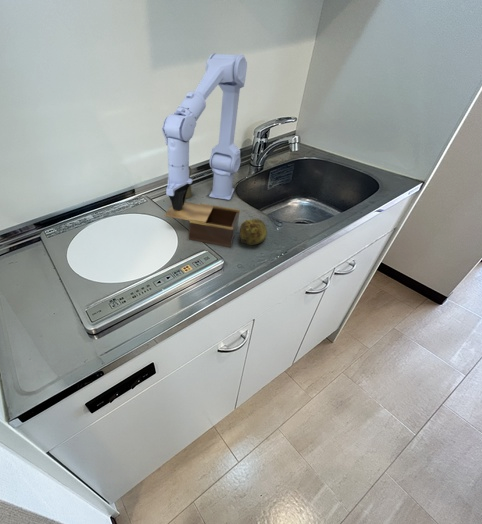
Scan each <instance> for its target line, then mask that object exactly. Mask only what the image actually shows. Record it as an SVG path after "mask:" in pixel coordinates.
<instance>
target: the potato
mask: <svg viewBox="0 0 482 524" xmlns="http://www.w3.org/2000/svg"><path fill="white" fill-rule="evenodd" d="M267 235H268V229H267V226H266V223H265V222H264V221H263V220H261V219H259V218H252V219H246V220H245V221H243V222H242V223H241V225H240V227H239V237H240V241H241V243H242V244H246V245H249V246H253V245H254V246H255V245H257V244H261V243H263V242H264V241H265V240H266V239H267Z"/></svg>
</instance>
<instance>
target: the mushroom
mask: <svg viewBox="0 0 482 524" xmlns="http://www.w3.org/2000/svg"><path fill="white" fill-rule="evenodd" d="M191 175H192V168H191V166H189V178H190V179H191ZM192 196H193V193H192V183H191V184H190V186H189V188H188V191H187V194H186V198H185V200H186V199H190V198H191V197H192Z"/></svg>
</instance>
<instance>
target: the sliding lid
mask: <svg viewBox="0 0 482 524" xmlns="http://www.w3.org/2000/svg"><path fill="white" fill-rule="evenodd" d="M200 204H201V203H193V202H186V201H185V202H184V205H183V199H182V206H181V210H180V211H178V210H174V209H173V206H172V204H171V205H170V207H168V209H167V210H166V212H165V213H164V217H166V218H172V219H178V220H185V221H189V222H190V220H192V221H198V222H204V223H206V221H207V219H208V217H209V216H210V214H211V212H212V210H213V206H214V205H213V206H207V205H208V204H207V205H200Z"/></svg>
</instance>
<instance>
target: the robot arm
mask: <svg viewBox="0 0 482 524" xmlns="http://www.w3.org/2000/svg"><path fill="white" fill-rule="evenodd" d="M247 70H248V61H247V60H246V57H245V55H244V53H240V54H226V53H225V54H223V53H215V52H213V53H211V54H210V56H209V57H208V59H207V60H206V62H205V72H204V74H203V76H202V78H201V79H200V81H199V83H198V85H197V86H196V88H195V90H191V91H189V92H187V93H186V95H185V97H184V98H183V99H182V101H181V103H180V104H179V106H178V107H177V109H175V111H174V113H169V115H167V116H166V117H165V118H164V121H163V124H162V127H161V131H162V135H163V136H164V139H165V144H166V146H167V169H168V170H167V171H168V172H167V173H168V174H167V187H166V188H165V193H166V194H165V195H166V196H168V197H169V199H170V202H171V205H172V206H173V209H174V210H178V211H180V210H181V206H182V199H183V205H184V202H186V199H187V198H186V194H187V191H188V188H189V186H190V184H191V185H192V183H193V178H191V177H190V178H189V167H190V140H191V139H192V138H193V136H194V134H195V128H196V127H197V122H198V120H199V118H200V117H201V115H202V114H203V113H204V111H205V109H206V107H207V102H206V100H207V99H208V97H210V95H211V94H212V93H213V91H214V90H215V89H216V88H217V86H218V87H219V88H220V89H221V91H222V99H221V108H220V109H221V111H220V122H219V135H218V144H215V146H213V147H212V148H211V153H210V157H209V161H208V163H209V167H210V168H211V172H213V180H212V189H211V191H210V193H209V195H208V197H209V198H212V199H213V198H214V199H219V200H226V201H230V200H231V199H232V196H233V194H234V192H235V188H234V187H233V184H234V178H235V177H234V175H235V174H236V173H238V171H239V169H240V167H241V161H242V158H241V149H240V148H239V147H238V146H237V145H236V144H235V135H236V125H237V117H238V109H239V102H240V93H241V89H242V88H244V87H245V83H246V77H247ZM185 198H186V199H185Z"/></svg>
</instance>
